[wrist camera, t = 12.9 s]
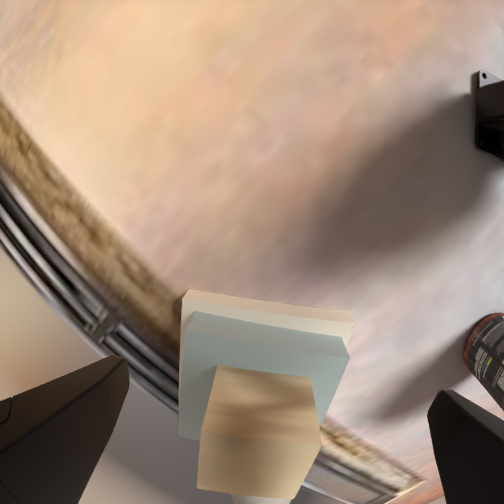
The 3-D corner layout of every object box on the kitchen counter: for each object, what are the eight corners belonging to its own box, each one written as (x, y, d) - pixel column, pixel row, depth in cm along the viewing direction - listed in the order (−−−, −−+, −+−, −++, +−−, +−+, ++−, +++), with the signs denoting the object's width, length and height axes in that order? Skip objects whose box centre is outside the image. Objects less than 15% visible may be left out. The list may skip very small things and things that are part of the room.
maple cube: (310, 376, 17) (321, 444, 12) (290, 436, 19) (293, 498, 13) (217, 364, 17) (200, 430, 12) (210, 425, 19) (196, 488, 13)
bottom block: (346, 306, 21) (354, 323, 19) (310, 417, 24) (313, 437, 22) (191, 284, 22) (182, 298, 19) (185, 400, 24) (178, 419, 22)
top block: (341, 336, 19) (349, 357, 17) (302, 433, 22) (304, 456, 19) (195, 310, 19) (185, 329, 17) (184, 414, 22) (177, 436, 19)
